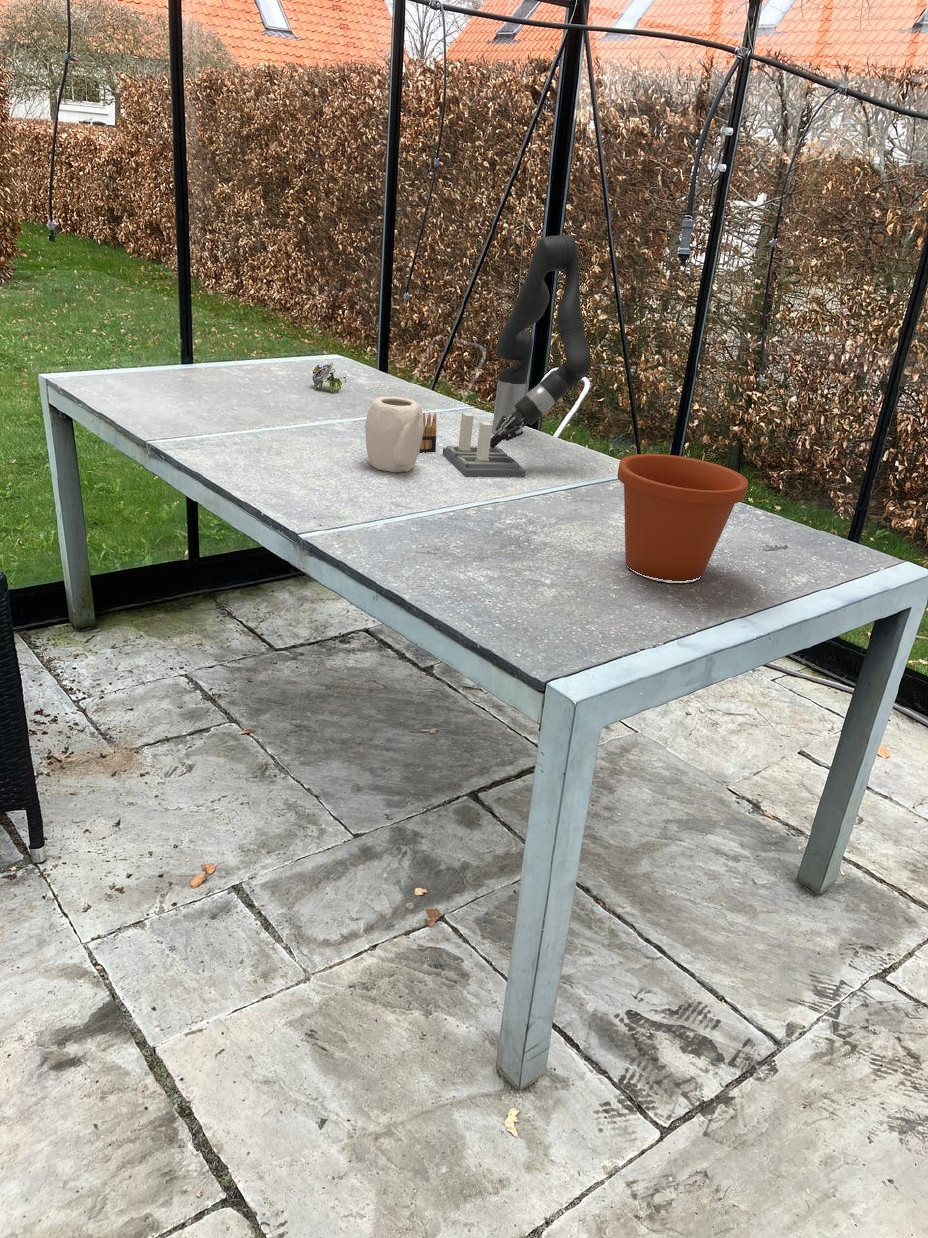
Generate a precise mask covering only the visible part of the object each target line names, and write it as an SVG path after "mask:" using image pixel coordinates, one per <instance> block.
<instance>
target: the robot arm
mask: <svg viewBox="0 0 928 1238" xmlns="http://www.w3.org/2000/svg"><path fill="white" fill-rule="evenodd" d="M579 265H580V264H579V252H578V246H577V243H576V240H575V238H574V236H572V235H569V234H560V235H549V236H544V237H541V238H540V239H539V240H538V242H537V243H536V246H535V248H534V250H533V254H532V257H531V261H530V265H529V268H528V270H527V274H526V277H525V279H524V282H523V284H522V286H521V289H520V291H519V293H518V296H517V298H516V299H515V303H514V305H513V308H512V311H511V312H510V315H509V317H508V319H507V320H506V322H505V324H504V326H503V328H502V329H501V331H500V333H499V336H498V338H497V341H496V347H495V348H496V353H497V356H498V357H499V358H500V359H502V360H506V361H507V360H509V361H516V362H515V363H514V364H513V365H511V366H509V367H506V368H504V369H501V370H500V371H499V372H498V376H497V386H496V393H495V402H494V409H493V410H494V412H493V420H492V432H491V433H493V434H494V435H492V436H491V441H490V447H491V448H492V449H493V448H494V447H498V445H499V444H500V443H501V442H502V441H503V442H504V441H506V442H508V441H510V440H513V439H516V437H519V436H521V435H523V434H524V430H523V428H525V426H527V424H529V425H530V426H532V425H534V424H535V423H536V422H537V421H538V420H539V419H540V418H542V417H543V416H544V415H545V414H546V413H547V412H548V411H549V410H550V409H551V408H552V406H554V404H555V403H556V402H557V401H559V400H560V399H561V398H562V397H563V396H564V395H565V394H566V393H567V391H568V390H570V389H571V388H572V387H574V386H575V385H576V384H578V383H579V382H580V381H581V380H583V378H585V376H587V375H588V373H589V371H590V369H591V368H592V357H591V352H590V348H589V345H588V341H587V338H586V330H585V326H584V321H583V319H584V318H583V314H582V307H581V294H580V292H581V291H580V290H581V289H580V270H579V269H580V267H579ZM556 271H557V272H558V271H563V272H564V277H565V285H564V289H563V292H562V296H561V299H560V302H559V304H558V307H557V313H556V320H557V326H558V330H559V331H558V332H559V337H560V340H561V343H562V345H563V348H564V354H565V361H564V362H563V363H562V364H561V365H560V366H559V367H558V368H557V369H556V370H555V371H554V372H551V373H550V374H547V376H546V377H545V378H543V379H542V380H541V381H540V382H539V383H538V384H536V386H534V387H533V388H531V389H530V390H529V391H528V392H526V388H527V386H526V385H527V379H528V374H529V367H530V362H531V357H532V352H533V345H534V342H533V340H534V339H533V335H532V333H531V332H530V331H527V330H526V329H527V328H529V327H531V326H532V325H534V324H535V323H537V322H538V321H540V320H541V318H542V317H543V316H544V314H545V311H546V309H547V307H548V305H549V302H550V298H551V297H550V295H551V294H550V292H549V288H548V286H547V284H546V282H545V279H546V278H545V277H546V275H547V274H548V273H549V272H556Z"/></svg>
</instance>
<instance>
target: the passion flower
mask: <svg viewBox="0 0 928 1238" xmlns="http://www.w3.org/2000/svg"><path fill="white" fill-rule="evenodd" d="M333 366H334V362H332V361H331V362H330V364H324V365H323V366H321V365H320V364H317V365H316V366H315V367H314V369H312V374H313V375H312V376H311V378H312V381H313V384H314V385H313V387H314V388H313V389H314V390H316V391H317V390H318V389H320V388H321V387H322V386H323V385H324V384H323V383H328V384H329V385H328V386H329V390H330V393H331V394H333V395H334V394H335V390H337V392H339V391H340V390H341V389H342V385H343V382H342V381H341V379H344V383H345V384H346V383H347V377H346V376H343V377H339V378H337V377H335V375H334V373H335V372H336V370H337V369H336V368H332V367H333Z"/></svg>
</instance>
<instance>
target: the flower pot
mask: <svg viewBox="0 0 928 1238" xmlns="http://www.w3.org/2000/svg"><path fill="white" fill-rule="evenodd" d="M617 470H618V471H617V475H616V476H617V479H618V481H620V482H621V483H622V484H623V498H624V499H623V500H624V501H623V503H624V504H623V505H624V547H625V548H624V551H625V553H624V554H625V556H624V558H625V561H626V562H625V561H624V562H625V565H626V564H627V566H628V567H629V568H631V569H632V570H634V571H636V572H638V573H640V574H642V575H645V576H649V577H653V578H658V579H663V580H672V581H686V580H693V579H696V578H699V577H700V576H702V577H703V575H704V573H705V570H706V569H707V567H708V564H709V562H710V559H711V558H712V556H713V553H714V551H715V548H716V547H717V544H718V542H719V540H720V538H721V535H722V534H723V531H724V529H725V527H726V524H727V522H728V520H729V518H730V516H731V514H732V511H733V509H734V507H735V505H736V504H737V503H741V502H742V501H744V500H745V499H746V495H747V492H748V487H749V480H748V479H747V478H746V477H745V476H744V475H743V474H741V473H740V472H738V471H736V470H733V469H731V468H728V467H726V466H723V465H720V464H719V463H718V464H717V463H714V462H710V461H706V460H702V459H698V458H693V457H687V456H681V455H674V454H673V455H671V454H664V453H663V454H661V453H660V454H659V453H643V454H640V453H639V454H633V455H627V456H625V457H623V458H622V459H621V460H619V463H618V469H617ZM627 566H626V567H627Z"/></svg>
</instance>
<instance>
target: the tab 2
mask: <svg viewBox="0 0 928 1238" xmlns="http://www.w3.org/2000/svg"><path fill="white" fill-rule="evenodd" d="M492 426H493V423H490V422H489V421H479V428H478V438H477V454H476V456H475V462H489V459H488V458H489V449H490V441H491V438H492V433H493V432H492Z"/></svg>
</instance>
